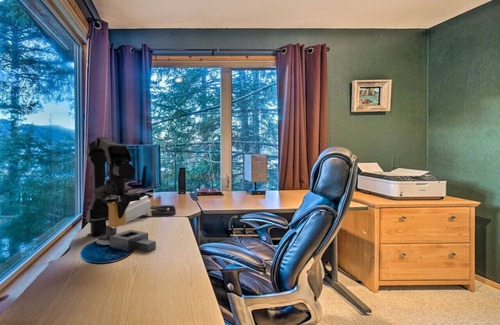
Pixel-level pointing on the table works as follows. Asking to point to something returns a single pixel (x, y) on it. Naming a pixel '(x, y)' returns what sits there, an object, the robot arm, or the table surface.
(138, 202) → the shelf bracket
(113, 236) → the ring lock bracket
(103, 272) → the table surface
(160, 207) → the black stapler
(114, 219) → the tan stepped block
